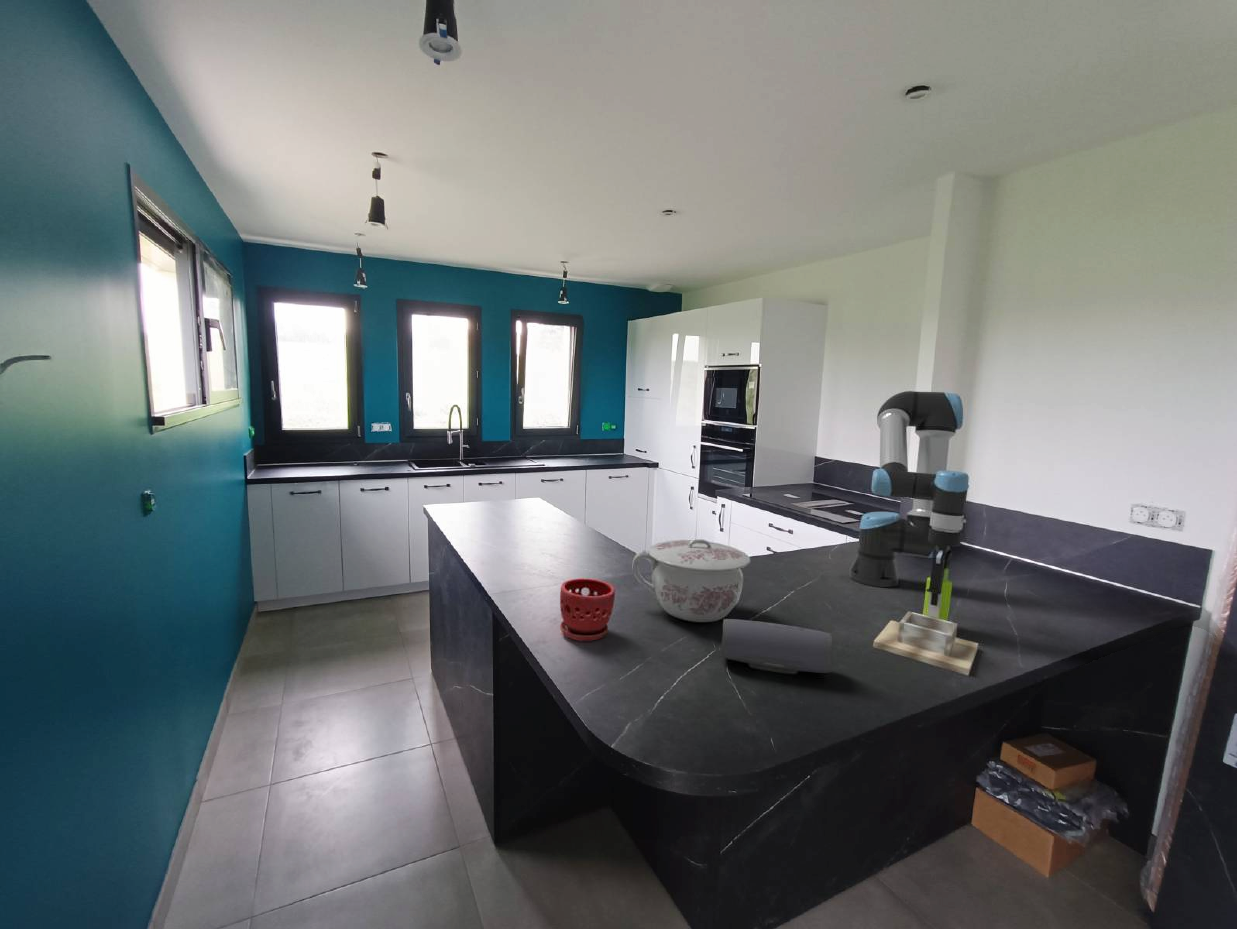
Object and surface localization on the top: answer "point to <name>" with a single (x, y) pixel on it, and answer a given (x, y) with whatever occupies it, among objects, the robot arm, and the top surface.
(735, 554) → the chamber pot
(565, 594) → the plant pot
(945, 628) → the dispenser caddy
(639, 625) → the top surface
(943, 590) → the soap dispenser
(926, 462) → the robot arm
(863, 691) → the top surface
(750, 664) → the bluetooth speaker
